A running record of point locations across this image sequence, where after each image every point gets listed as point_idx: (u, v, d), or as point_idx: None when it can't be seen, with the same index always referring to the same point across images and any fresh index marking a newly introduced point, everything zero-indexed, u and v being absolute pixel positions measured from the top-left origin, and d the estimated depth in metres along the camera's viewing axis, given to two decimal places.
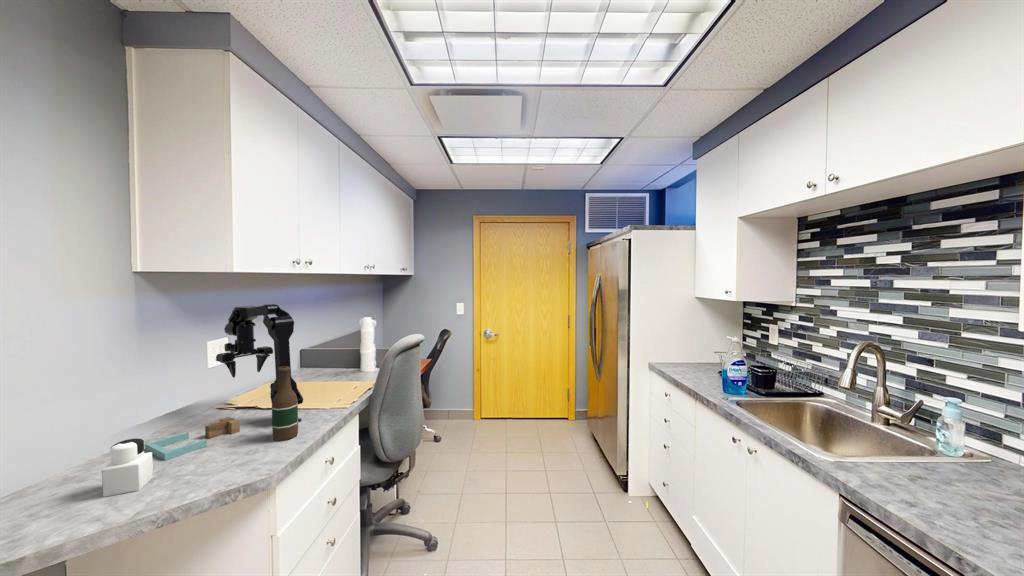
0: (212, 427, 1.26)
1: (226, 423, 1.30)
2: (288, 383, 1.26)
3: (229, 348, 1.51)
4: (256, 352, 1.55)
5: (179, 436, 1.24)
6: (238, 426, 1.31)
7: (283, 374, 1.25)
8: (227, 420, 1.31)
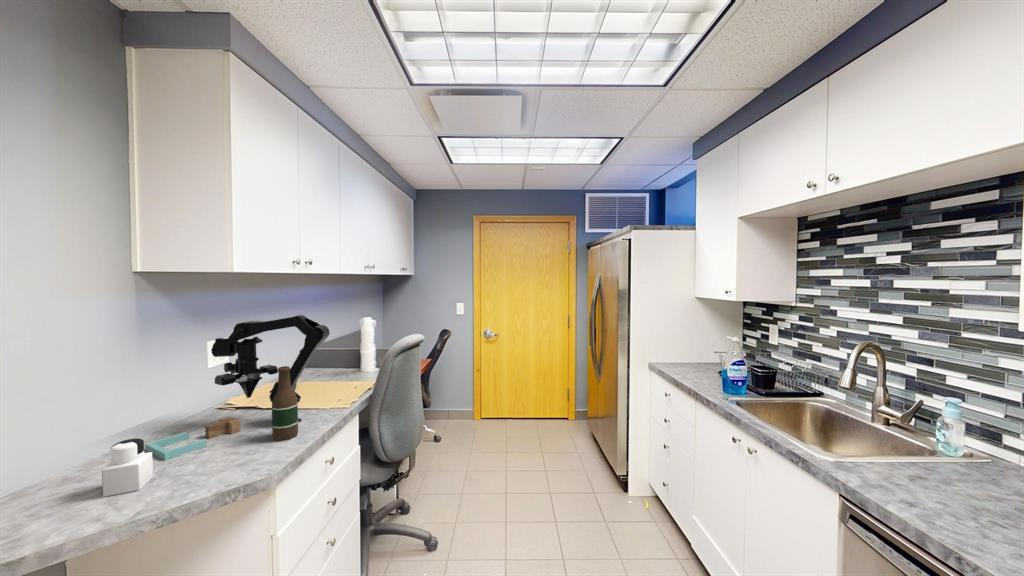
0: (212, 427, 1.26)
1: (226, 423, 1.30)
2: (288, 383, 1.26)
3: (229, 368, 1.36)
4: None
5: (179, 436, 1.24)
6: (238, 426, 1.31)
7: (283, 374, 1.24)
8: (227, 420, 1.31)
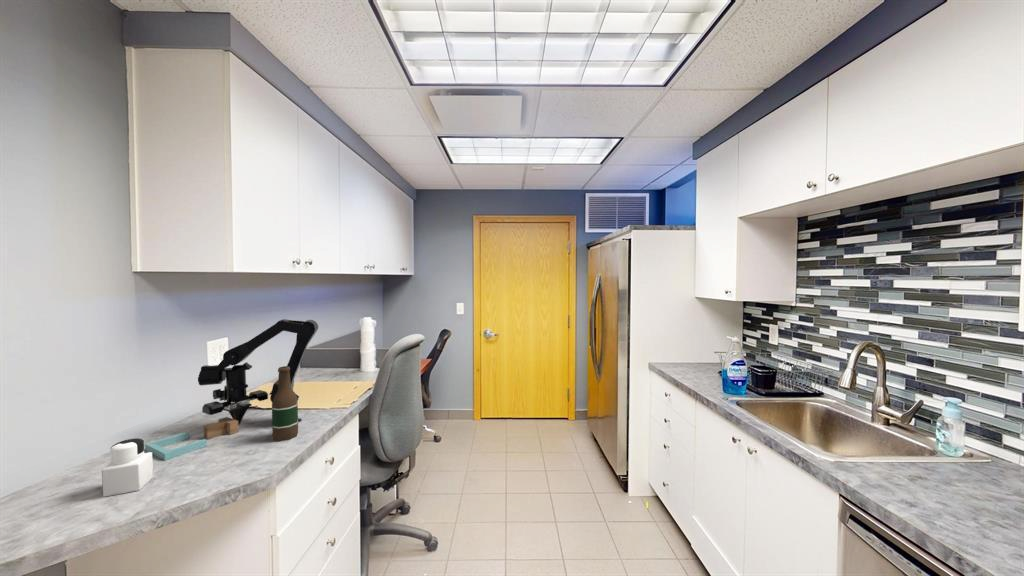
0: (211, 427, 1.26)
1: (225, 423, 1.29)
2: (288, 383, 1.26)
3: (218, 395, 1.33)
4: None
5: (179, 436, 1.24)
6: (237, 426, 1.30)
7: (283, 374, 1.25)
8: (225, 420, 1.31)
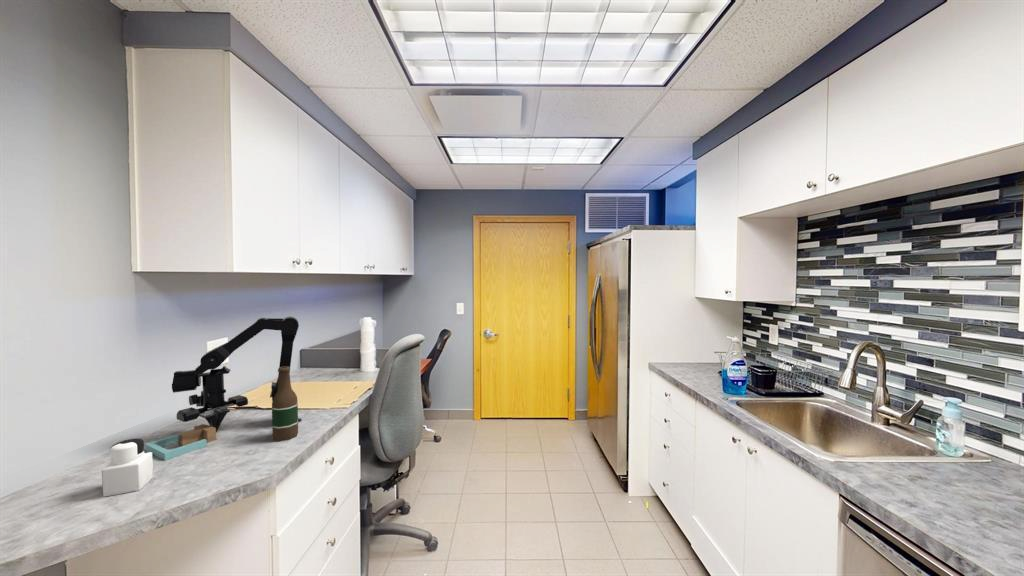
0: (186, 435, 1.20)
1: (201, 431, 1.23)
2: (288, 383, 1.26)
3: (194, 401, 1.26)
4: None
5: None
6: (214, 434, 1.24)
7: (283, 374, 1.25)
8: (202, 427, 1.25)
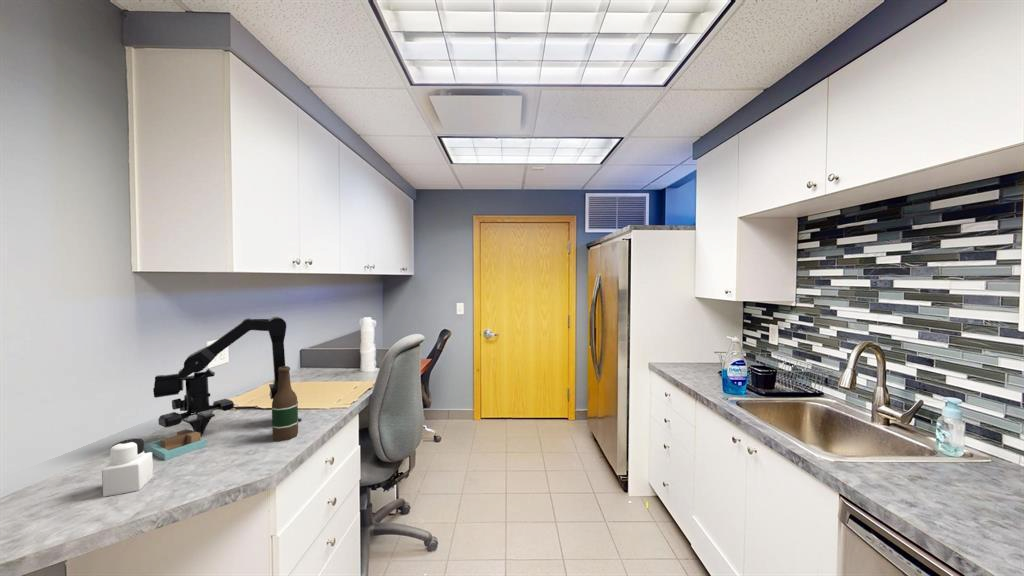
0: (169, 441, 1.15)
1: (185, 436, 1.19)
2: (288, 383, 1.26)
3: (177, 406, 1.22)
4: None
5: None
6: (199, 439, 1.20)
7: (283, 374, 1.24)
8: (185, 433, 1.21)
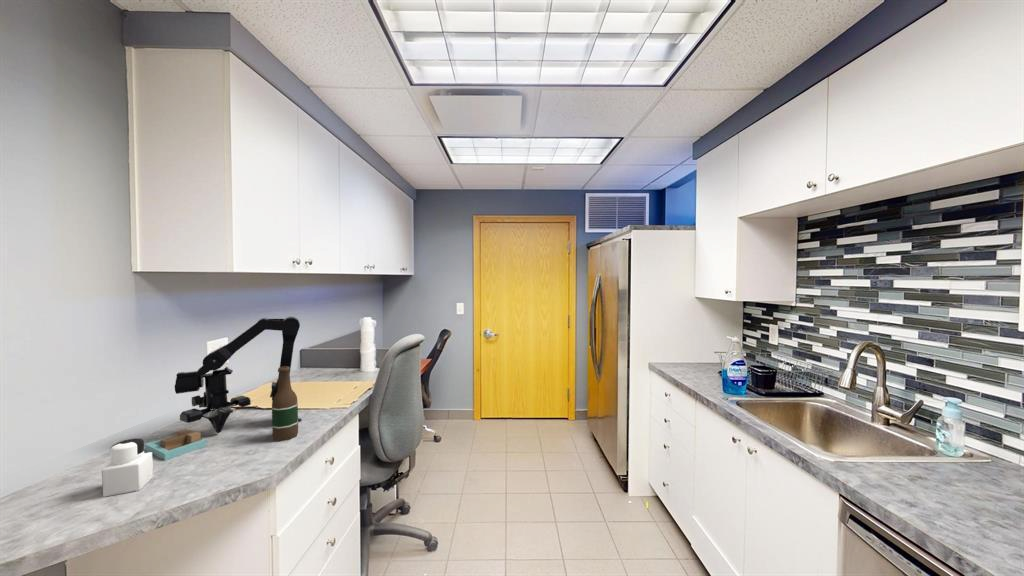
0: (169, 441, 1.15)
1: (185, 436, 1.19)
2: (288, 383, 1.26)
3: (197, 402, 1.27)
4: None
5: None
6: (199, 439, 1.20)
7: (283, 374, 1.24)
8: (185, 433, 1.21)
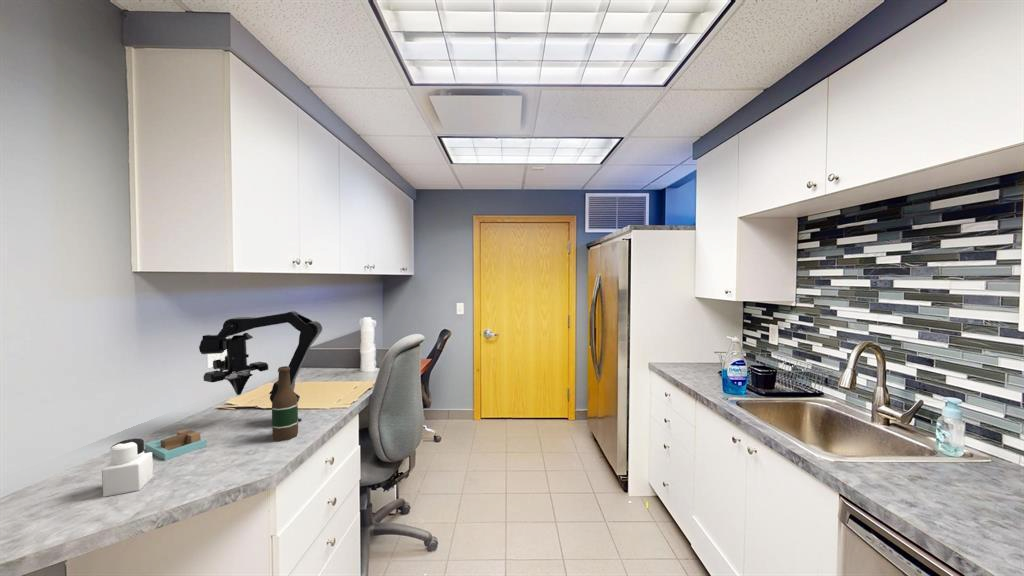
0: (169, 441, 1.15)
1: (185, 436, 1.19)
2: (288, 383, 1.26)
3: (218, 365, 1.33)
4: None
5: None
6: (199, 439, 1.20)
7: (283, 374, 1.24)
8: (185, 433, 1.21)
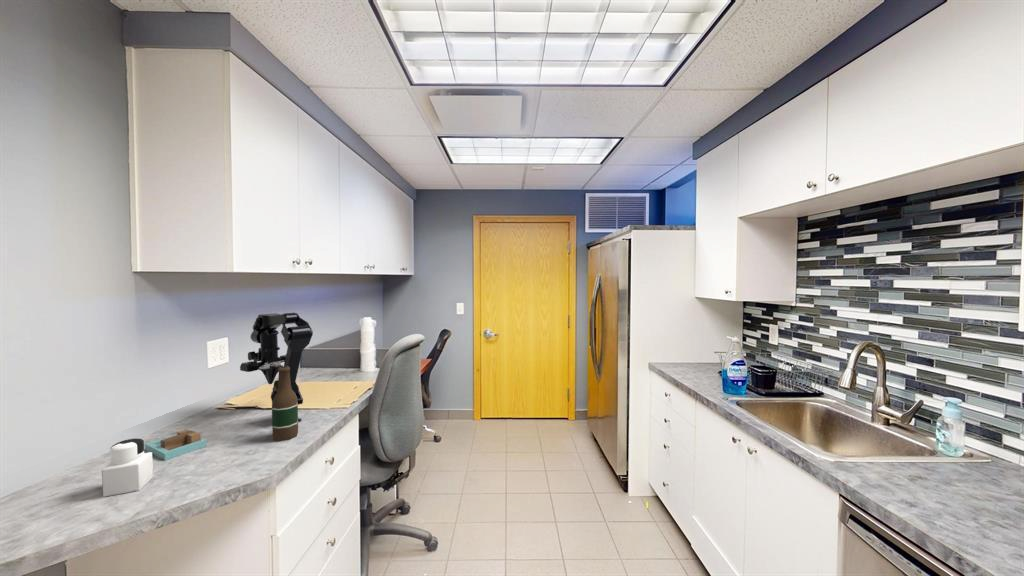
0: (169, 441, 1.15)
1: (185, 436, 1.19)
2: (288, 383, 1.26)
3: (253, 357, 1.46)
4: None
5: None
6: (199, 439, 1.20)
7: (283, 374, 1.24)
8: (185, 433, 1.21)
